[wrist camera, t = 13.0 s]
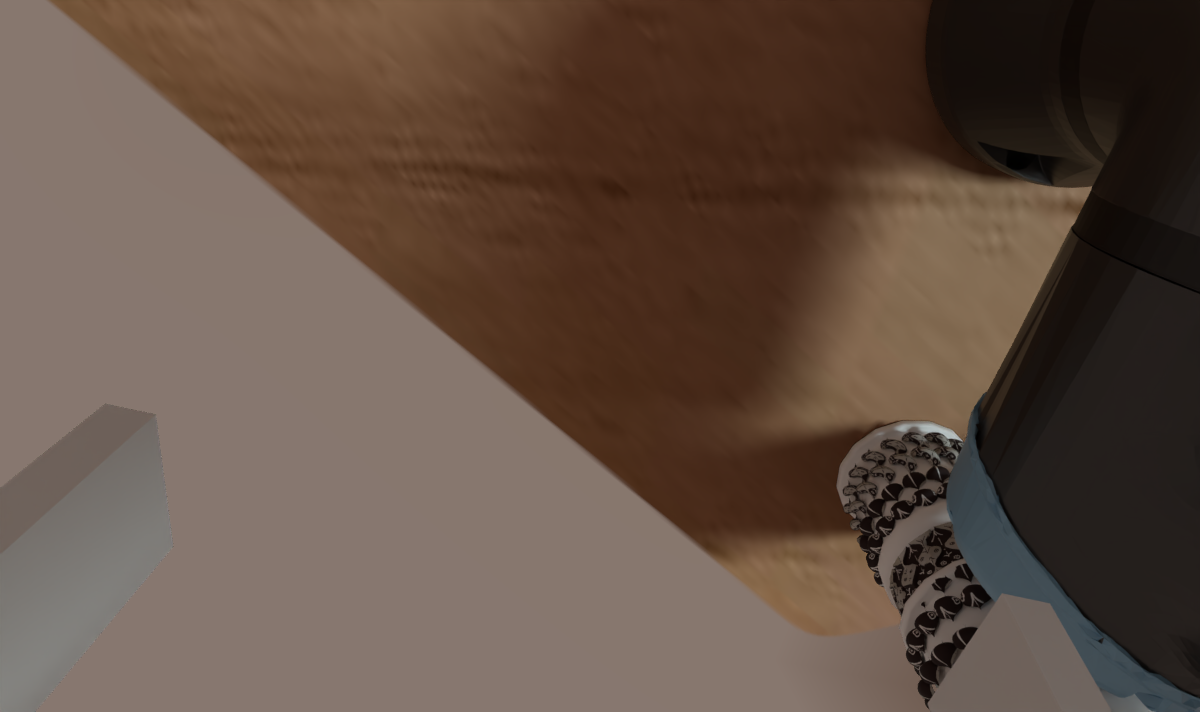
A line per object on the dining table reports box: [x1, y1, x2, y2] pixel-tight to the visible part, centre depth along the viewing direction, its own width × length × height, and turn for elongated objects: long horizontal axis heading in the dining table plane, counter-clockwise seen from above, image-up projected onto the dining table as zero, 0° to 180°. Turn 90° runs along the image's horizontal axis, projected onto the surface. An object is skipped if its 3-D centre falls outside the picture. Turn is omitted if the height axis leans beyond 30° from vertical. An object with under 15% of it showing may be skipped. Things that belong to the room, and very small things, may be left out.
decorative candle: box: [836, 421, 1154, 712], centre depth 35 cm, size 9×9×25 cm
